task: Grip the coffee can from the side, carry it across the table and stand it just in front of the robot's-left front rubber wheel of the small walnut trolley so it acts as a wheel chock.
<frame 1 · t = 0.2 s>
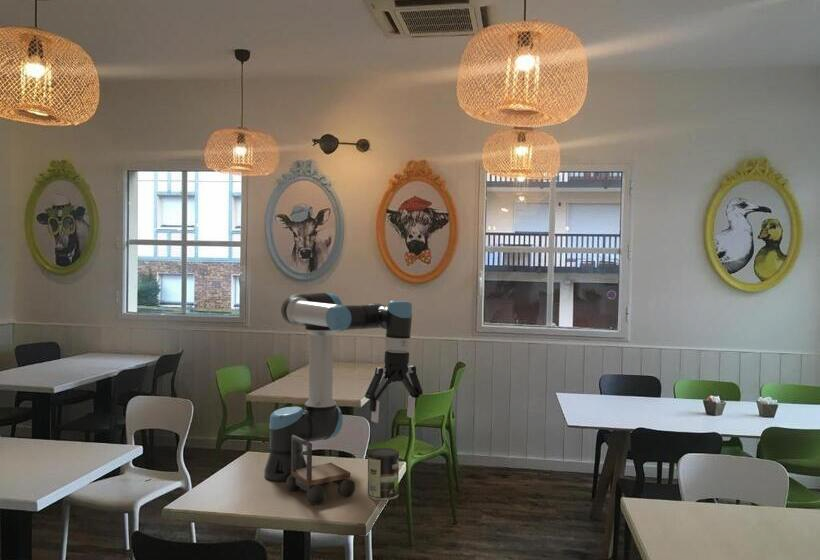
hand: (392, 419, 196), 27 cm above the table, tool pointing down, fingers open, 13 cm apart
trolley: (320, 493, 209), on the table
coffee can: (383, 495, 207), on the table
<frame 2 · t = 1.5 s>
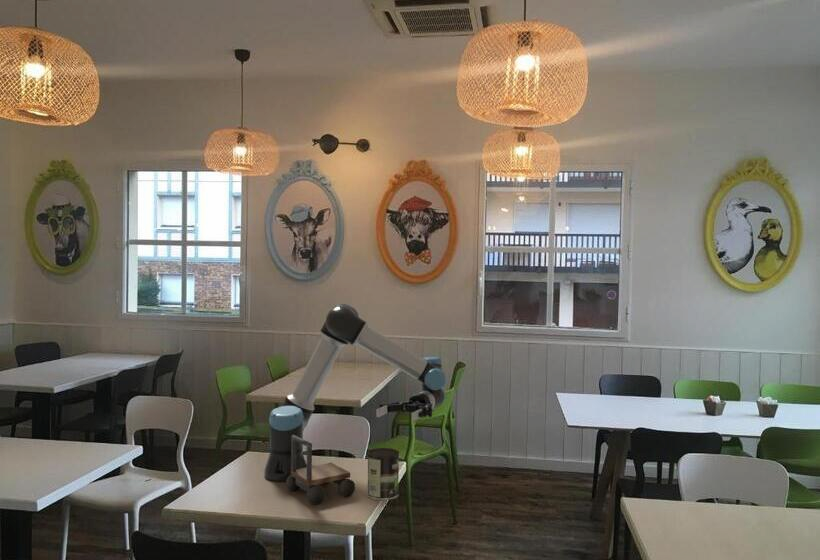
hand: (394, 415, 215), 24 cm above the table, tool horizontal, fingers open, 13 cm apart
nothing on the table moved.
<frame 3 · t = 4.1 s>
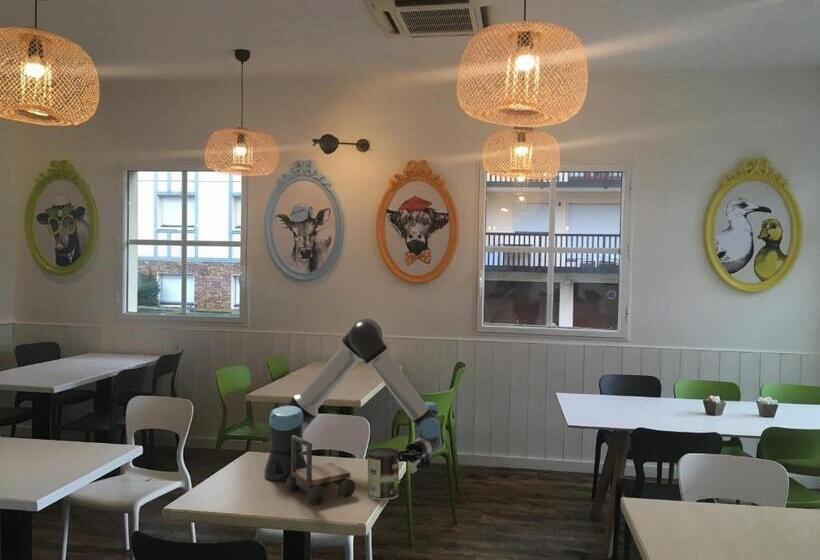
hand: (393, 466, 213), 8 cm above the table, tool horizontal, fingers open, 13 cm apart
nothing on the table moved.
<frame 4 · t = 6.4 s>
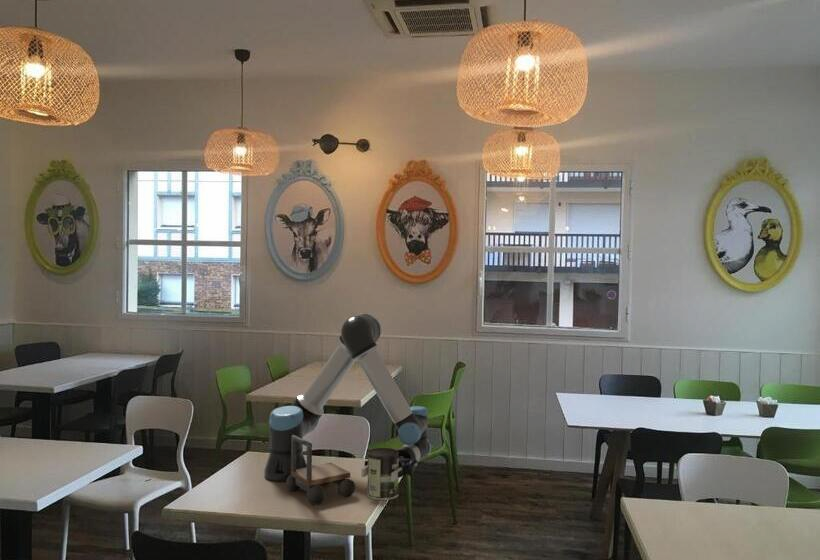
hand: (377, 475, 204), 8 cm above the table, tool horizontal, fingers closed on coffee can, 10 cm apart
coffee can: (382, 495, 207), on the table, touching gripper
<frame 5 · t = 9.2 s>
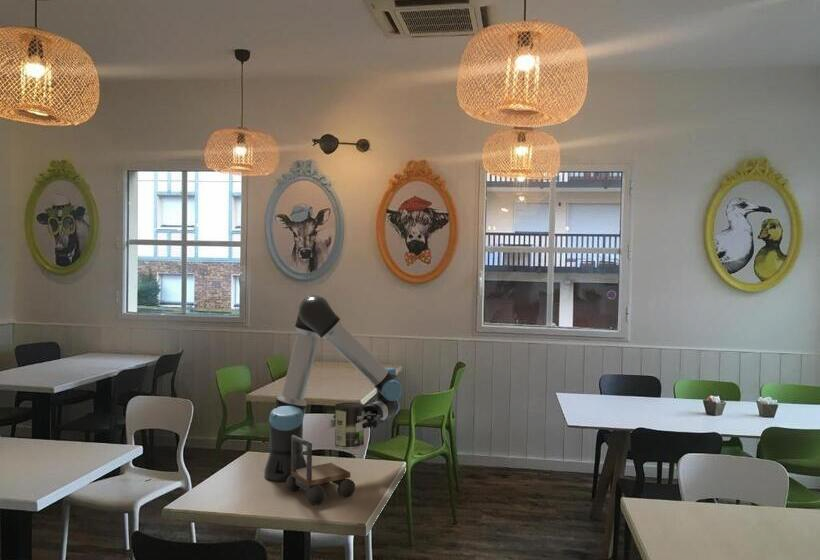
hand: (343, 425, 218), 20 cm above the table, tool horizontal, fingers closed on coffee can, 10 cm apart
coffee can: (349, 446, 222), point 12 cm above the table, touching gripper
when the fingers open (9 cm above the table, at t = 12.0 s): coffee can drops 1 cm, on the table.
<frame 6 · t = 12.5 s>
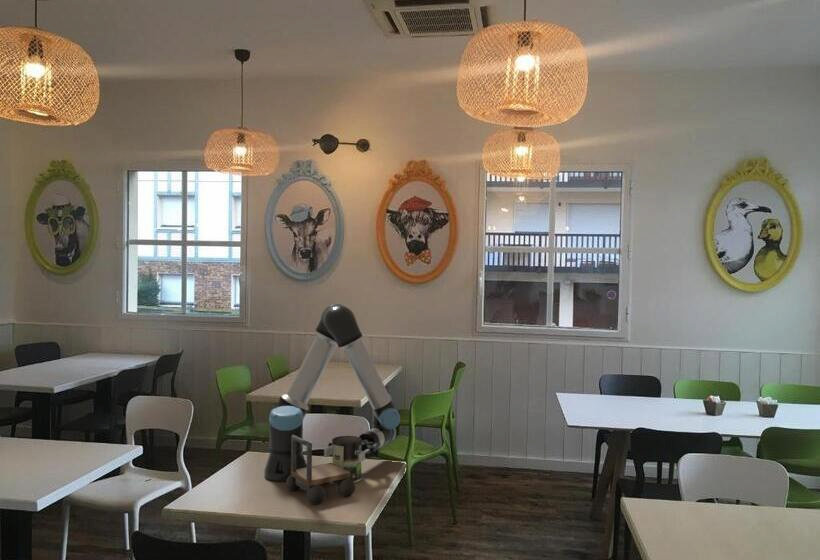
hand: (342, 455, 220), 9 cm above the table, tool horizontal, fingers open, 13 cm apart
coffee can: (346, 479, 223), on the table
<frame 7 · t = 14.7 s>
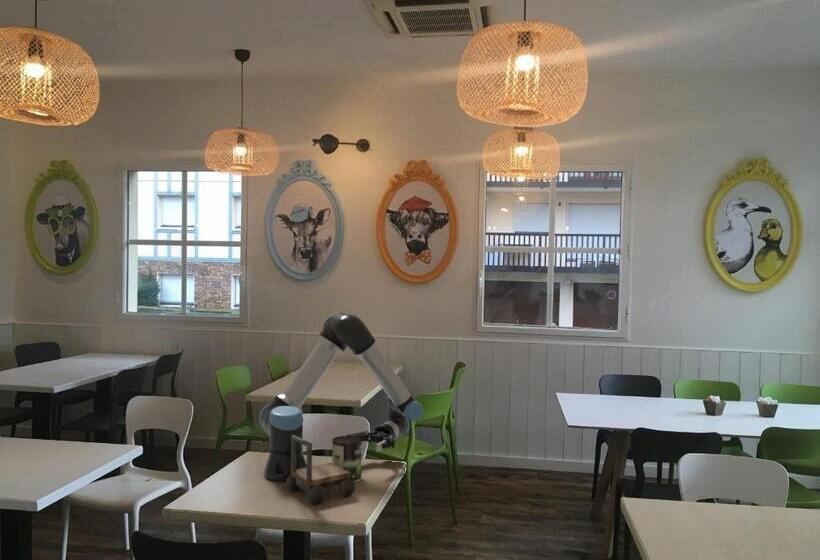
hand: (360, 446, 232), 9 cm above the table, tool horizontal, fingers open, 13 cm apart
nothing on the table moved.
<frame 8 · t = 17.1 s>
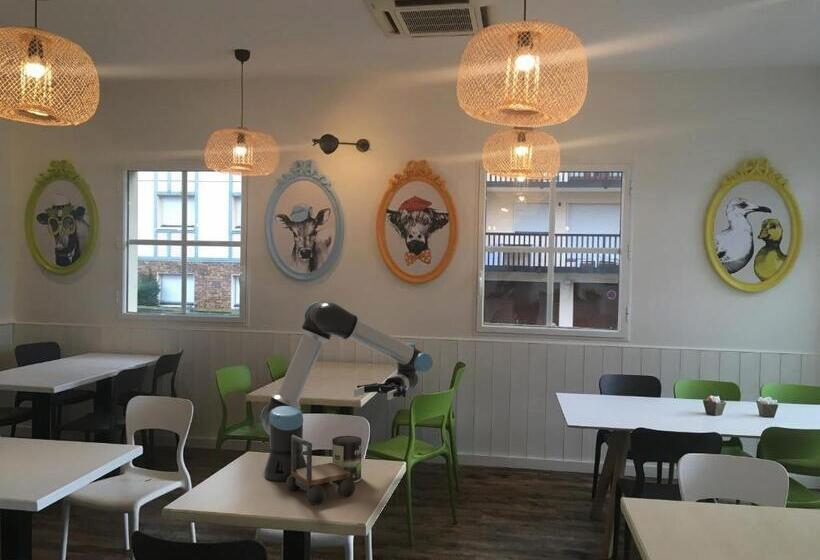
hand: (371, 394, 232), 28 cm above the table, tool horizontal, fingers open, 13 cm apart
nothing on the table moved.
at the end: coffee can 0.8 cm from the target spot on the table beside the trolley, on the table; coffee can tilted 0°; the gripper is holding nothing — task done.
